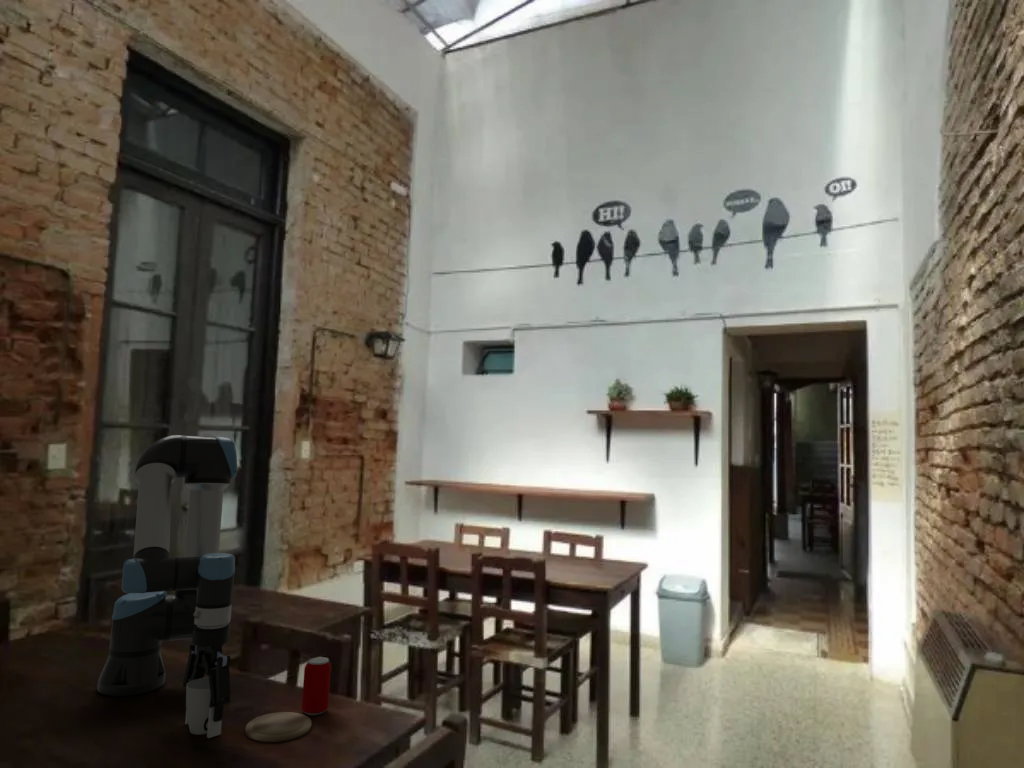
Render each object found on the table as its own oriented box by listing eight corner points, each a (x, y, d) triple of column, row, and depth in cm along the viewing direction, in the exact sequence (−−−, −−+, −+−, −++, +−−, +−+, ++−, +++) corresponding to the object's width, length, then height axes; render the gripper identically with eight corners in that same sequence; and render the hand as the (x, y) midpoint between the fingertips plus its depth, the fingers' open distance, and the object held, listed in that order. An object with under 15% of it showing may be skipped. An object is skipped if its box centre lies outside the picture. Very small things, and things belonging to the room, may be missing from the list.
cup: (206, 739, 141) (210, 691, 142) (173, 734, 143) (178, 686, 143) (230, 724, 149) (233, 679, 150) (198, 720, 150) (202, 674, 151)
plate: (233, 728, 147) (233, 724, 147) (288, 710, 158) (288, 706, 158) (267, 748, 138) (268, 743, 138) (323, 728, 149) (323, 724, 149)
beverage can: (313, 705, 162) (317, 654, 163) (333, 710, 159) (336, 659, 160) (295, 713, 156) (299, 661, 158) (315, 719, 154) (319, 666, 155)
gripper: (172, 617, 152) (162, 719, 149) (220, 638, 138) (210, 750, 136) (204, 612, 158) (195, 710, 155) (253, 631, 144) (244, 738, 142)
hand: (202, 728), depth 146 cm, fingers open, 9 cm apart
